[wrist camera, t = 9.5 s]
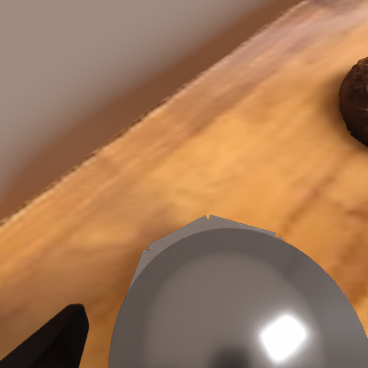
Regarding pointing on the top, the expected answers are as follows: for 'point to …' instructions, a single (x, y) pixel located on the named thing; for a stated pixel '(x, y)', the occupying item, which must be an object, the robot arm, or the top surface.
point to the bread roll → (356, 100)
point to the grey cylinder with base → (236, 309)
